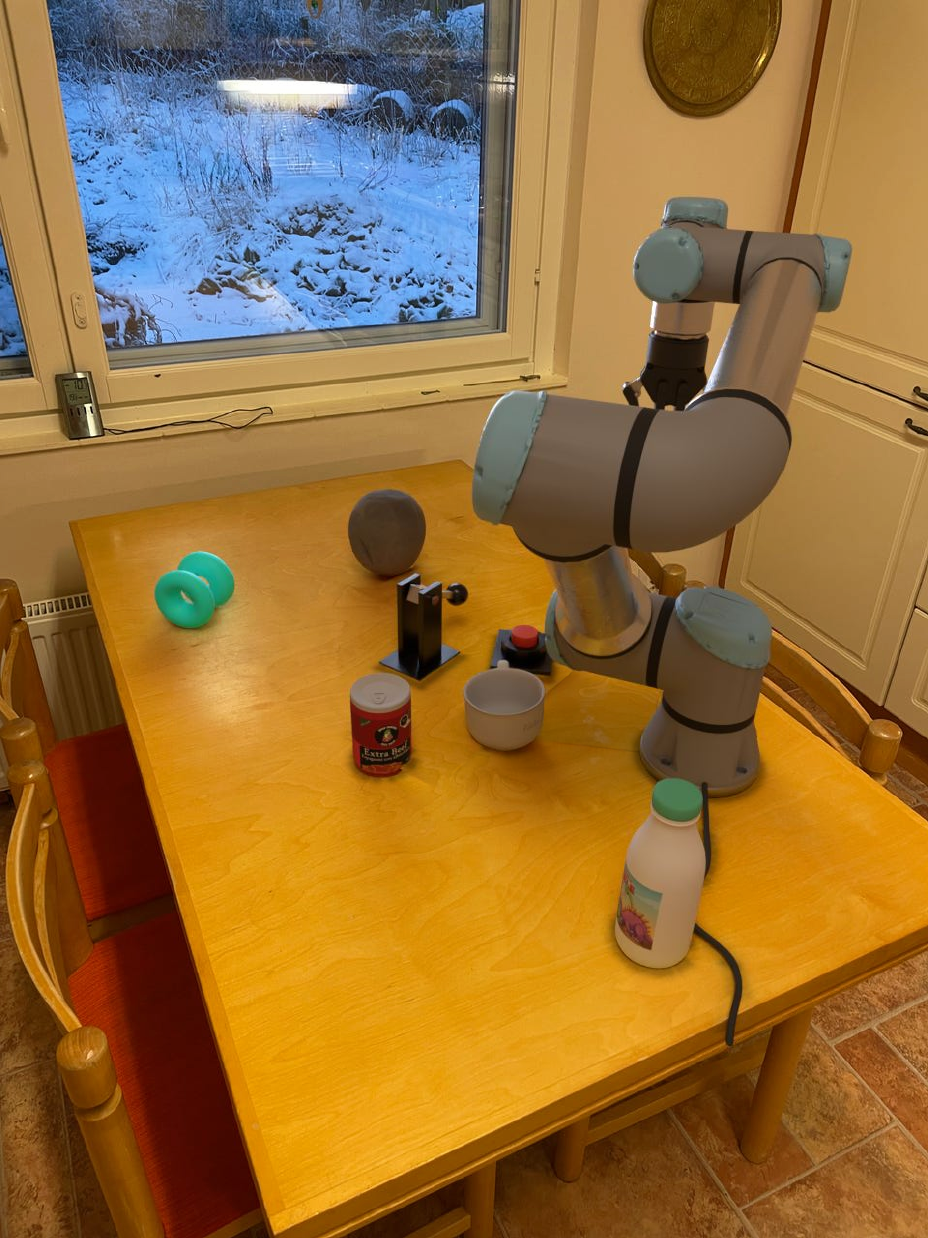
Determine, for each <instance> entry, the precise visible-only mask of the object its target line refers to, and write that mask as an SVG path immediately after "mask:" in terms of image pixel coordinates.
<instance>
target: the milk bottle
mask: <svg viewBox="0 0 928 1238" xmlns="http://www.w3.org/2000/svg"><path fill="white" fill-rule="evenodd" d="M649 806H650V811H651V813H650V814H649V816H648V817H647V819H646V820H645V821H644V822H643V823H642V824H641V825H640V827H639V828H637V830H636V831H635V833H634V834H633V836H632V838H631V840H630V843H629V845H628V848H627V852H626V855H625V861H624V867H623V872H622V879H621V885H620V891H619V896H618V897H619V898H618V905H617V911H616V918H615V925H614V936H615V940H616V943H617V945H618V946H619V948H620V950H621V951H622V952H623V953H624V955H625V956H626V957H627V958H629V959H630V960H631V961H633V962H635V963H636V964H638V965H641V966H643V967H646V968H649V969H650V968H651V969H666V968H671V967H674V966H675V965H677V964H679V963H680V962H681V961H683V960H684V959H685V957H686V956H688V955H687V954H688V953H689V950H690V947H691V944H692V939H693V934H694V926H695V923H696V921H697V916H698V912H699V907H700V901H701V896H702V890H703V885H704V881H705V878H704V875H705V865H706V858H705V845H704V844H703V843H704V842H703V841H702V838H701V835H700V833H699V830H698V825H697V822H698V821H699V820H700V817H701V812H702V809H703V797H702V793H701V791H700V790H699V789H698V787H696V786H695V785H694V784H692V783H691V782H689V781H686V780H683V779H678V778H668V779H664V780H661V781H659V780H658V782H657V783H656V784H655V785H654V787H653V789H652V793H651V800H650V805H649Z"/></svg>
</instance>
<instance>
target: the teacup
mask: <svg viewBox="0 0 928 1238" xmlns="http://www.w3.org/2000/svg"><path fill="white" fill-rule="evenodd" d="M546 690H547V689H546V686H545V684H544V682H543V681H542V679H541V678H540V677H538V676H536V674H531V673H529V672H527V671H524V670H520V669H513V668H509V663H508V661H506V660H500V661H498V663H497V668H495V669H487V670H483V671H480V672H477V673H476V674H474V675H473V676H471V677H470V678H469V679H468V680H466V682H465V684H464V686H463V689H462V697H463V699H464V701H463V703H464V714H465V715H464V717H465V722H466V726H467V729H468V732H469V734H470V735H471V737H472V738H473V739H474V740H475V741H476V742H478V743H479V744H481V745H483V746H485V747H486V748H487V747H488V748H490V749H492V750H495V751H500V752H501V751H502V752H506V751H507V752H508V751H509V752H510V751H514V750H518V749H520V748H522V747H525V746H527V745H529V744H530V743H531V742H533V741H534V740H535V739H536V738H537V737H538V735H539V734H540V732H541V730H542V727H543V725H544V717H545V699H546V694H547V693H546Z"/></svg>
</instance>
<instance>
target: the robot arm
mask: <svg viewBox="0 0 928 1238" xmlns="http://www.w3.org/2000/svg"><path fill="white" fill-rule="evenodd" d="M662 215H663V216H662V219H661V220H660V227H661V228H658V229H657V230H655V231H653V232H652V233H651V234H649V235H648V236H647V237H646V239H645V240H644V241H642V243H641V244H640V246H639V248H638V249H637V250H636V253H635V256H634V259H633V263H632V274H633V275H632V276H633V280H634V282H635V285H636V287H637V289H638V290H639V292H640V293H641V294H642V295H643V296H644V297H645V298H646V299H648V300H650V301H651V302H652V307H651V315H650V323H649V327H650V328H651V330H652V331H651V332H650V333H649V334H648V340H647V348H646V349H647V350H646V356H645V363H644V366H643V368H642V369H641V371H640V374H639V377H638V378H635V379H633V380H632V381H625V382H624V383H622V394H623V396H624V397H625V400H626V402H627V404H624V403H616V402H610V401H609V402H608V401H602V400H594V399H587V398H579V397H573V396H572V397H571V396H565V395H558V394H550V393H548V391H546V390H541V391H539V392H535V391H527V390H512V391H509V392H506V393H505V394H503V395H502V396H501V397H500V398H499V399H498V400H497V402H496V403H495V404H494V405H493V407H492V408H491V411H490V412H489V415H488V417H487V418H486V419H487V420H486V422H485V425H484V426H483V430H482V433H481V436H480V439H479V443H478V447H477V451H476V456H475V461H474V467H473V472H472V481H471V504H472V509H473V512H474V514H475V515H476V517H477V518H478V519H480V520H481V521H485V522H487V523H491V524H492V525H493V526H498V525H504V526H508V527H511V528H512V530H513V532H514V534H515V536H516V538H517V539H518V540H519V542H520V544H522V545H523V547H524V548H525V549H526V550H527V551H529V552H530V553H531V554H533V555H534V556H536V557H538V558H539V559H541V560H542V559H543V562H544V564H545V567H546V569H547V572H548V574H549V577H550V579H551V581H552V584H553V586H554V590H553V592H552V595H551V596H550V600H549V603H548V606H547V610H546V613H545V619H544V633H546V638H545V644H546V648H547V651H548V654H549V655H550V657H551V658H552V661H553V662H554V663H556V664H558V665H561V666H564V667H567V668H568V669H570V670H572V671H577V672H586V673H589V674H595V675H597V676H603V677H606V678H611V679H616V680H619V681H623V682H627V683H628V682H629V683H633V684H636V685H641V686H645V687H649V688H653V689H656V690H659V691H662V695H661V701H660V703H659V705H658V706H657V708H656V709H655V711H654V713H653V715H652V716H651V717H650V720H649V721H648V723H647V725H646V726H645V727H644V729H643V732H642V734H641V739H640V744H639V758H640V761H641V763H642V765H643V766H644V768H645V769H646V770H647V771H648V772H649V774H650V775H651V776H652V777H654V779H656V780H658V782H659V781H661V780H664V779H668V778H678V779H683V780H686V781H689V782H691V783H692V784H694V785H695V786H696V787H698V789H699V790H700V791H701V793H702V797H703V803H702V820H703V821H702V825H703V826H702V827H703V841H704V842H703V843H704V851H705V858H706V865H705V875H704V879H706V877H707V875H708V874H709V870H710V867H711V862H712V843H711V832H710V807H709V806H710V805H709V798H721V797H727V796H728V797H729V796H733V795H735V794H738V793H741V792H743V791H745V790H746V789H748V788H749V787H750V786H752V784H753V783H754V782H755V780H756V778H757V776H758V771H759V767H760V764H761V763H760V760H761V759H760V749H759V748H760V747H759V743H758V734H757V729H756V726H755V725H756V724H755V717H756V712H757V708H758V704H759V699H760V695H761V689H762V684H763V681H764V680H763V679H764V675H765V670H766V667H767V665H768V664H769V662H770V659H771V650H770V649H771V644H772V639H773V638H772V637H773V626H772V624H771V620H770V618H769V617H768V615H767V614H766V613H765V611H764V610H763V609H761V608H760V607H759V605H757V604H756V602H754V601H752V600H751V599H749V598H747V597H746V596H744V595H741V594H740V593H737V592H735V591H731V590H729V589H724V588H722V587H716V586H708V585H704V586H703V587H702V588H701V587H700V586H692V587H689V588H686V589H685V590H684V591H682V592H680V594H679V595H678V596H677V597H672V596H668V595H665V594H664V595H663V594H659V593H654V592H650V591H648V589H647V587H646V586H645V584H644V583H643V581H642V580H641V579H640V578H638V577H637V576H636V575H635V574H634V573H633V571H632V567H631V566H632V565H631V560H630V554H629V551H628V549H629V550H634V551H638V552H643V553H648V554H649V553H651V554H653V553H654V554H656V553H658V554H659V553H660V554H661V553H672V552H678V551H683V550H687V549H692V548H694V547H697V546H700V545H703V544H705V543H707V542H710V541H711V540H713V539H716V538H718V537H720V536H721V535H722V534H725V533H726V532H727V531H729V530H731V529H732V528H733V527H735V526H737V525H738V524H740V523H742V522H743V521H744V520H745V519H746V518H747V517H748V516H749V515H751V514H752V513H753V512H754V511H755V510H756V509H758V508H759V506H760V505H761V504H762V503H763V502H764V501H765V500H766V499H767V498H768V497H769V495H770V494H771V493H772V491H773V490H774V488H775V487H776V485H777V484H778V482H779V480H780V478H781V476H782V474H783V473H784V471H785V468H786V465H787V462H788V458H789V456H790V451H791V447H792V443H793V442H792V441H793V433H792V432H793V431H792V426H791V423H790V421H789V419H788V413H789V410H790V407H791V403H792V400H793V398H794V393H795V389H796V386H797V384H798V383H797V382H798V379H799V376H800V372H801V369H802V366H803V362H804V358H805V355H806V352H807V349H808V346H809V342H810V338H811V335H812V331H813V328H814V324H815V321H816V318H817V314H818V313H831V312H835V311H836V310H838V308H840V305H841V303H842V299H843V295H844V289H845V285H846V282H847V277H848V273H849V268H850V263H851V258H852V253H853V245H852V243H851V242H850V241H849V240H848V239H846V238H842V237H835V236H829V235H822V234H820V233H811V234H809V233H793V232H791V233H790V232H774V231H758V230H746V229H745V230H744V229H733V228H732V229H731V228H728V225H727V224H728V217H729V205H728V203H727V202H726V201H724V200H723V199H719V198H715V197H705V196H676V197H672V198H670V199H668V200H667V201H666V202H665V205H664V210H663V214H662ZM715 303H720V304H732V305H738V307H737V310H736V312H735V314H734V317H733V319H732V322H731V324H730V326H729V329H728V331H727V334H726V336H725V339H724V342H723V343H722V344H723V345H722V346H721V349H720V351H719V354H718V356H717V359H716V361H715V363H714V366H713V368H712V371H711V373H710V375H709V378H708V376H707V374H706V363H707V355H708V350H709V342H710V338H709V335H708V333H709V332H711V330H712V324H713V316H714V310H715ZM642 387H643V388H644V390H645V392H646V393H647V395H648V397H649V399H650V400H651V401H652V403H653V407H652V408H651V407H646V406H640V403H639V397H641V394H642ZM701 391H702V392H701ZM700 392H701V393H700ZM699 393H700V395H698V394H699ZM697 395H698V396H697ZM668 406H672V409H673V410H666V407H668ZM693 932H695V933H696V934H697V935H698V936H699V937H701V938H702V939H703V940H705V942H707V943H709V945H710V946H712V947H714V948H715V949H716V950H717V951H718V952H719V953H720V954H721V955H722V956H723V957H724V958H725V960H726V962H727V963H728V964H729V966H730V968H731V971H732V974H733V977H734V991H733V992H734V993H733V997H732V1001H731V1005H730V1009H729V1013H728V1017H727V1023H726V1029H725V1030H726V1032H725V1039H724V1041H725V1045H726V1046H727V1047H730V1048H731V1047H733V1045H734V1040H735V1031H736V1024H737V1018H738V1013H739V1008H740V1004H741V1002H742V996H743V989H744V987H743V977H742V972H741V969H740V967H739V964H738V963H737V960H736V959H735V957H734V956H733V954H732V953H731V952H730V951H729V950H728V948H727V947H725V946H724V945H723V944H722V943H721V942H720V941H719V940H717V938H715V937H714V936H712V935H711V934H709V933H708V932H707V931H705V930H704V928H702V927H701V926H699V924H698V923H697V922H695V926H694V930H693Z"/></svg>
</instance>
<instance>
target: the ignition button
mask: <svg viewBox="0 0 928 1238" xmlns="http://www.w3.org/2000/svg"><path fill="white" fill-rule="evenodd" d="M511 630H512V636H511V642H512V644H513V645H515V646H518V647H524V648H529V647H534V646H536V644H537V640H538V631H539V630H538V629H537V628H536V627H534V626H532V625H529V624H519V625H516V626H514V627H513V628H512V629H511Z"/></svg>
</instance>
